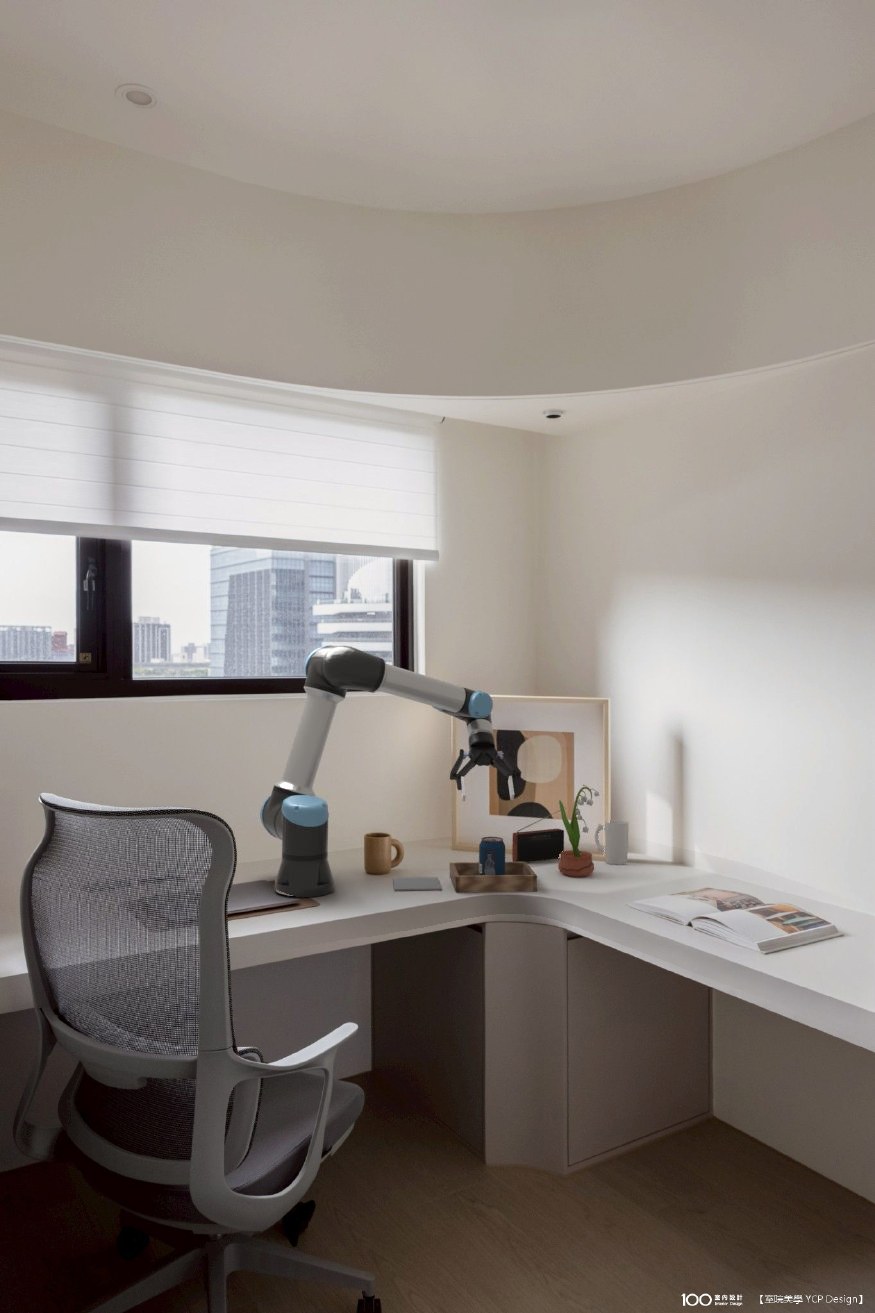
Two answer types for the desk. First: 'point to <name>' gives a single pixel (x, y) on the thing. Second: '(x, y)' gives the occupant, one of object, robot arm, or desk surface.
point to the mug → (614, 841)
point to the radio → (537, 844)
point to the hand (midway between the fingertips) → (488, 798)
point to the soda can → (492, 856)
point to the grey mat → (416, 883)
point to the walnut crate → (492, 878)
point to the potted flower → (576, 841)
